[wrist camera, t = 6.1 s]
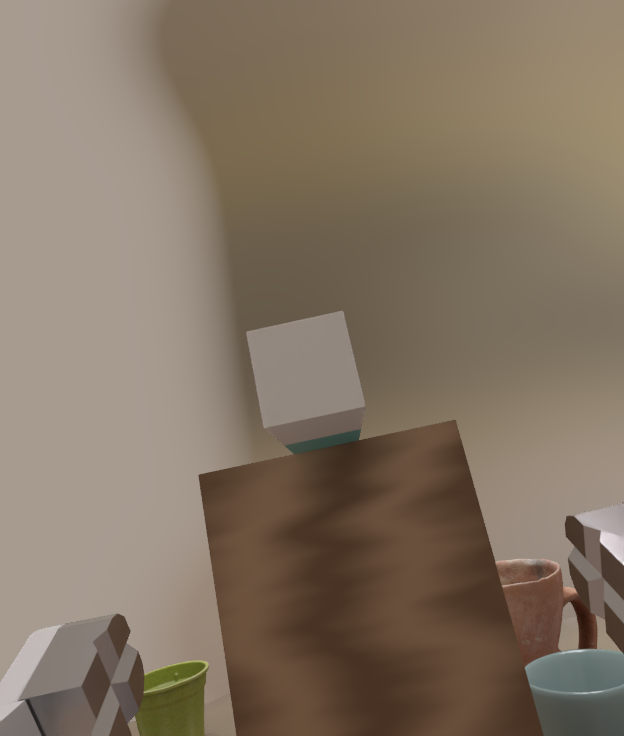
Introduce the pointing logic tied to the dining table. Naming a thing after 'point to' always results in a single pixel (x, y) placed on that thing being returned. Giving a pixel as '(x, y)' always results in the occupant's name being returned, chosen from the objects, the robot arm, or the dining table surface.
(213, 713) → the dining table surface
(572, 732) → the cup
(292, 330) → the block
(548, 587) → the ceramic jug
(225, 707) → the dining table surface
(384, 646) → the tall stand
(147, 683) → the plant pot
